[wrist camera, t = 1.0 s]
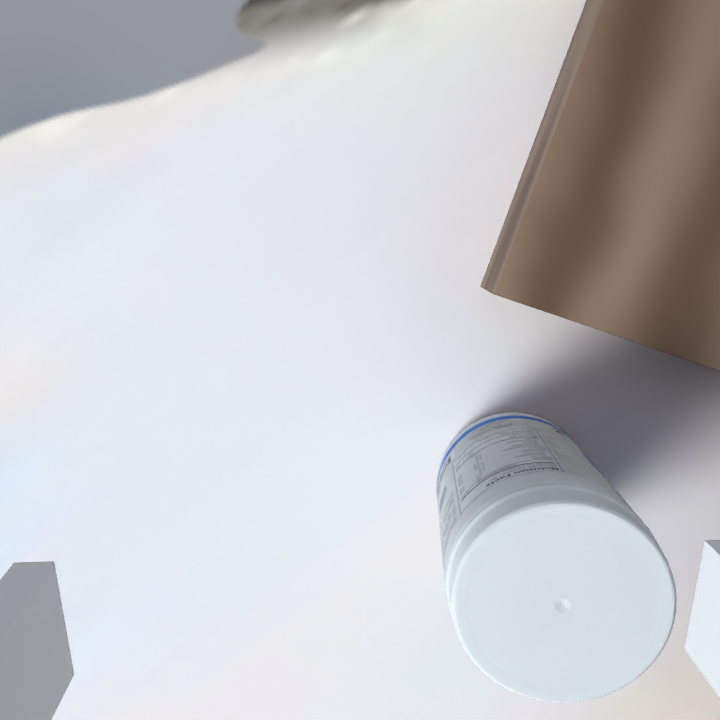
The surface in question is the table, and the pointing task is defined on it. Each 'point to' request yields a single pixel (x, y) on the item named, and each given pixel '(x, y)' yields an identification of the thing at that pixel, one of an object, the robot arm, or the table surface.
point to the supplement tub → (547, 563)
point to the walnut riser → (626, 182)
